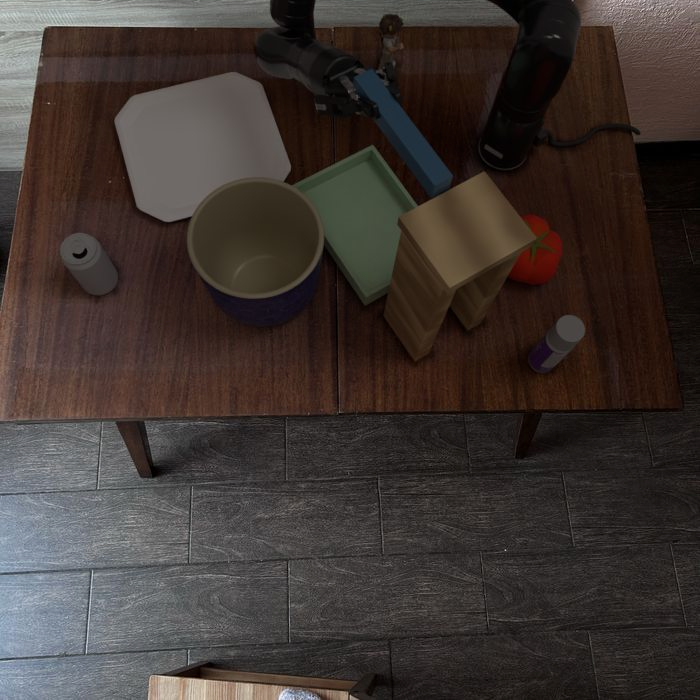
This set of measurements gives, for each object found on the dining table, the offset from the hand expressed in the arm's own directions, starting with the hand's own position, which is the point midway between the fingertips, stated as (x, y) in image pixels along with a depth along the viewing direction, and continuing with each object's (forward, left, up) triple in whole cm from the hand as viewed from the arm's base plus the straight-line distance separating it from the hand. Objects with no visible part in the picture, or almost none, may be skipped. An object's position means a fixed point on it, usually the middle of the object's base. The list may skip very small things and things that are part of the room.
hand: (388, 106), depth 94 cm
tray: (0, -1, -35) cm, 35 cm away
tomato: (-20, +19, -35) cm, 44 cm away
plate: (+18, -31, -35) cm, 50 cm away
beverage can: (+46, -16, -35) cm, 60 cm away
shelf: (0, +20, -35) cm, 40 cm away
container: (-12, +36, -35) cm, 51 cm away
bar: (0, +4, -3) cm, 5 cm away
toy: (-23, -30, -35) cm, 52 cm away
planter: (+22, 0, -35) cm, 41 cm away
